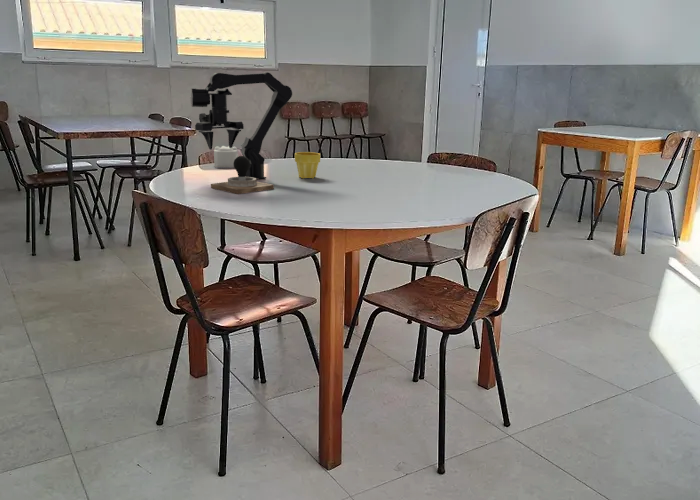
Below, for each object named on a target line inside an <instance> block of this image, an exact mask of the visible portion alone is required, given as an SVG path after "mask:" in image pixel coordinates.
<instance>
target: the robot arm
mask: <svg viewBox="0 0 700 500" xmlns="http://www.w3.org/2000/svg"><path fill="white" fill-rule="evenodd" d="M253 84H254V85H255V84H265V86H267V88H269V89H270V91H271V92H272V95H271V101H270V104H269V105H268V108H267V109H266V111H265V114H263V117H262V118H261V120H260V122H259V124H258V126H257V128H256V129H255V131H254V133H253V135H252V136H251V137H250V138H249V137H245V139H244V141H243V143H242V145H240V146H241V149H240V150H241V151H240V153H241V156H245V157H246V158H248V160H249V161H250V167H249V169H248V171H247V174H246V177H253V178H256V179H257V180H263V179H264V180H265V179H267V176H265V157H263V156H262V155H261V154H260V153H261V149H262V145H263V142H264V139H265V137H266V135H267V134H268V132H269V130H270V128H271V127H272V125H273V123H274V121H275V120H276V117H277V115H278V114H279V112H280V110H281V109H282V108H283V107H285V105H287V103H288V102H289V101H290V100H291V98H292V96H293V91H292V88H291V87H289V86H288V85H285V84H283V82H282V81H280V80H279V79H277V78H276V77H275V76H273V75H272V73H271V72H262V73H261V72H260V73H247V74H246V73H245V74H242V73H241V74H231V73H230V74H229V73H223V72H215V73H212V74H211V76H210V77H209V83H208V84H207V85H206V87H205V88H195V87H193V88H191V90H190V106H191V108H208V106H209V105H210V104H211V109H209V113H208V114H207V113H199V114H198V115H199V116H198V120H199V122H196V124H195V125H194V128H195V131H198V133H199V134H200V133H201V134H202V136H204V139H205V142H206V144H207V146H208V149H209V150H213V143H214V131H212V130H213V129H214V130H215V129H216V130H217V129H225V130H226V132H227V134H228V135H227V136H228V146H229V148H232V147H234V143H235V141H236V139H237V137H238V135H239V133H240V132H242V130H244V129H245V128H244V127H245V126H244V123H243V122H242V121H238V120H228V114H229V113H230V110H229V109H228V104H227V103H228V98H227V96H232V95H233V93H232V92H231V91H230V90H229V89H228V88H229V87H234V86H238V85H253ZM222 89H224V90H222ZM215 91H216V92H215ZM210 92H211V93H210Z"/></svg>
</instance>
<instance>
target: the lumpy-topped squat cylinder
mask: <svg viewBox="0 0 700 500" xmlns="http://www.w3.org/2000/svg"><path fill="white" fill-rule="evenodd" d="M238 151H239V150H238V147H236V146H232V148H229V145H228V146H226V145H221V147H220V146H218V145H217V146H215V147H214V150H213V157H214V158H213V161H214V162H213V163H214V166H213V167H214V168H218V169H219V168H222V169H223V168H224V169H225V168H228V169H231V168H234V165H233V164H234V160H235V159H236V158H237V157H239V152H238ZM234 169H235V168H234Z"/></svg>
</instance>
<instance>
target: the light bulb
mask: <svg viewBox="0 0 700 500" xmlns="http://www.w3.org/2000/svg"><path fill="white" fill-rule="evenodd" d="M233 165H234V170H235V171H236V174H237V177H239V181H246V174H247V171H248V169H249V167H250V161H249V160H248V158H246V157H245V156H243V155H238V157H237V158H236V159H235V160H234V164H233Z"/></svg>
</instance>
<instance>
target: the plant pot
mask: <svg viewBox="0 0 700 500" xmlns="http://www.w3.org/2000/svg"><path fill="white" fill-rule="evenodd" d="M294 162H295V163H296V167H297V174H298V177H299V178H300V177H301V178H300V179H304V178H312V179H315V178H316V176H317V171H318V166H319V163H321V153H319V152H311V151H300V152H299V151H298V152H295V153H294ZM314 177H315V178H314Z"/></svg>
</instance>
